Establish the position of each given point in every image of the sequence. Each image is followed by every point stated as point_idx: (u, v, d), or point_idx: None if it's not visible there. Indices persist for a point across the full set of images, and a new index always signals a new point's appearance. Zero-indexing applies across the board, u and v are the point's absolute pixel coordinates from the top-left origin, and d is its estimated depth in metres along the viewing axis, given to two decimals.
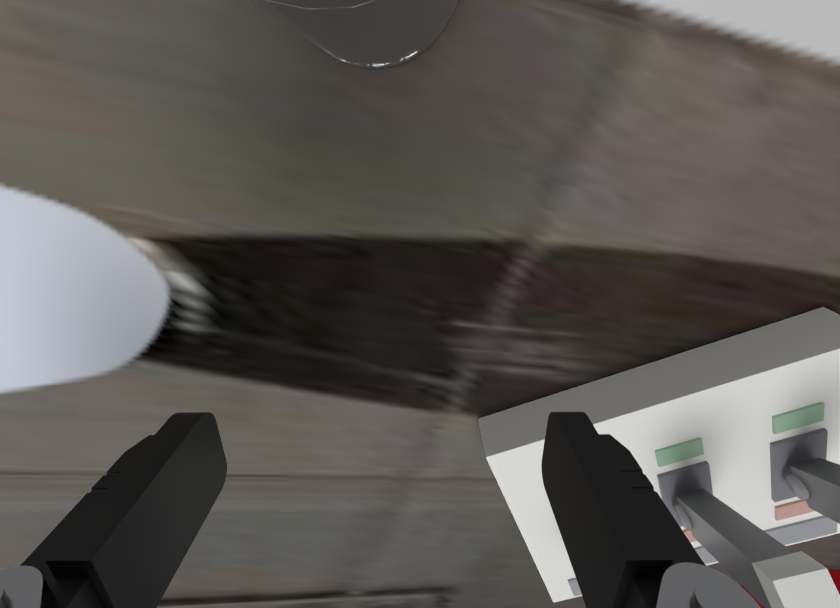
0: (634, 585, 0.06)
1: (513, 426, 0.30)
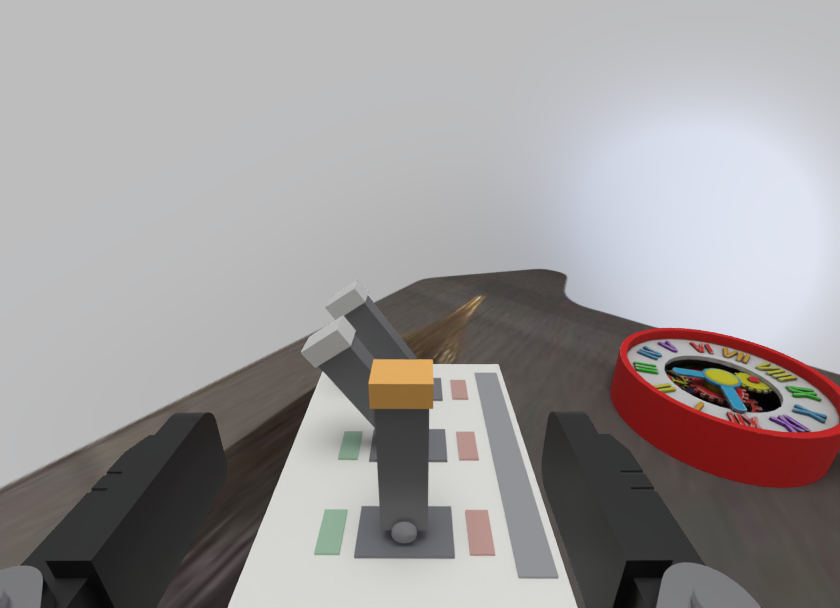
0: (634, 585, 0.06)
1: None
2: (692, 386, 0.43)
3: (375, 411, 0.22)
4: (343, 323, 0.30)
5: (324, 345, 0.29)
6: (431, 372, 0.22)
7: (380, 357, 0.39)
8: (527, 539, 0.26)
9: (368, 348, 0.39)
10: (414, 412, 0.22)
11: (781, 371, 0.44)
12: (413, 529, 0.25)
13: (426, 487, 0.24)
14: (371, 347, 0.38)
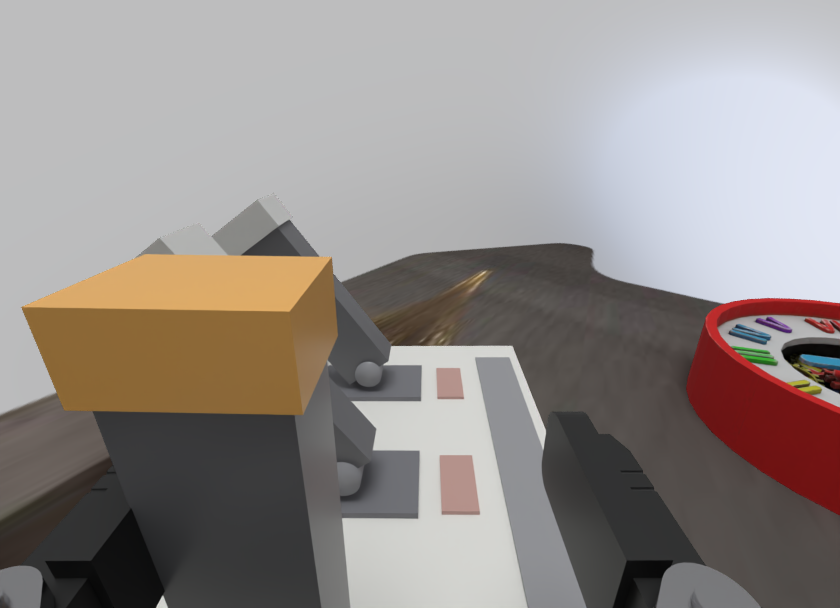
0: (633, 585, 0.06)
1: None
2: (837, 385, 0.26)
3: (101, 420, 0.06)
4: (191, 235, 0.14)
5: None
6: (306, 282, 0.06)
7: None
8: None
9: None
10: (242, 427, 0.06)
11: None
12: None
13: None
14: None
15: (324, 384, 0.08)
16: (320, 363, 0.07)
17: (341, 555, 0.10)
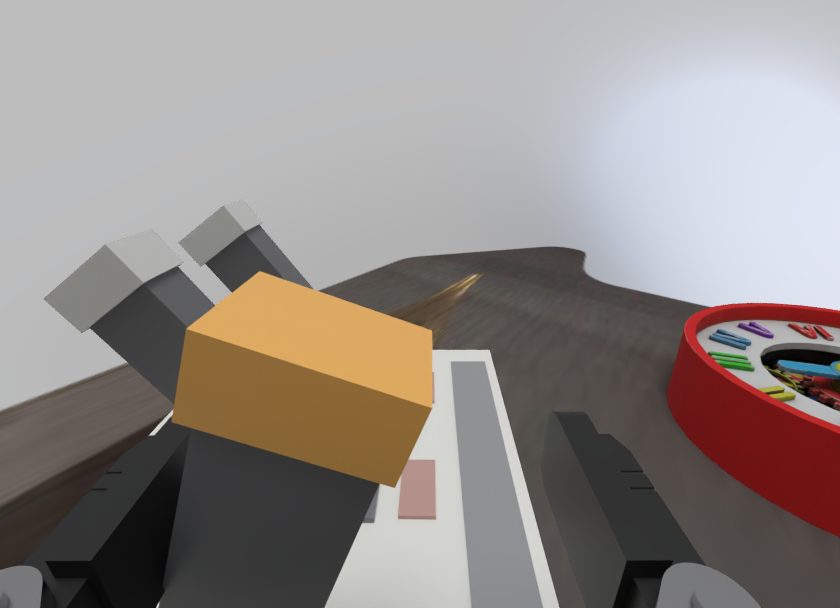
0: (634, 585, 0.06)
1: None
2: (815, 391, 0.26)
3: (194, 435, 0.06)
4: (142, 241, 0.14)
5: (87, 283, 0.14)
6: (427, 365, 0.07)
7: None
8: None
9: None
10: (327, 478, 0.06)
11: None
12: None
13: None
14: None
15: None
16: None
17: None
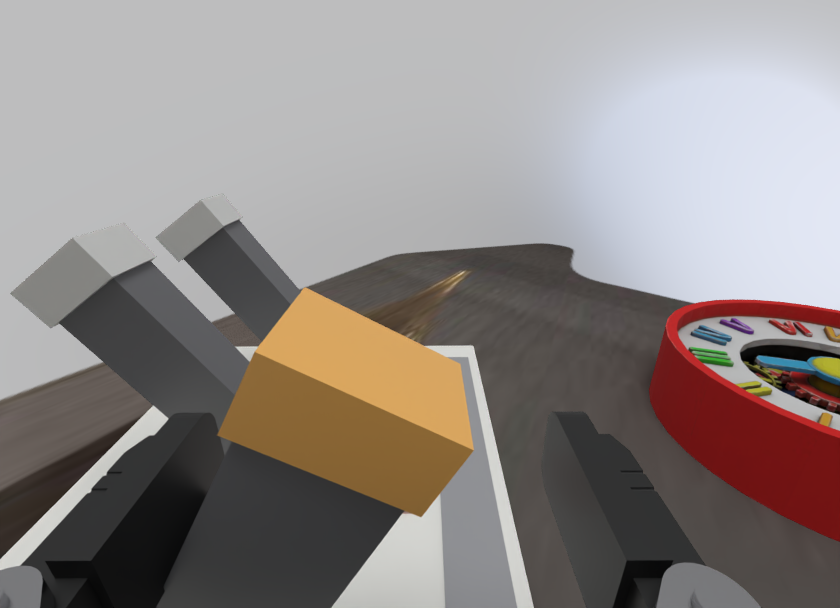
0: (633, 585, 0.06)
1: None
2: (792, 386, 0.26)
3: (233, 448, 0.06)
4: (112, 235, 0.14)
5: (55, 277, 0.13)
6: (462, 402, 0.07)
7: (265, 327, 0.23)
8: None
9: (243, 312, 0.23)
10: (355, 500, 0.07)
11: None
12: None
13: None
14: (248, 310, 0.23)
15: None
16: None
17: None
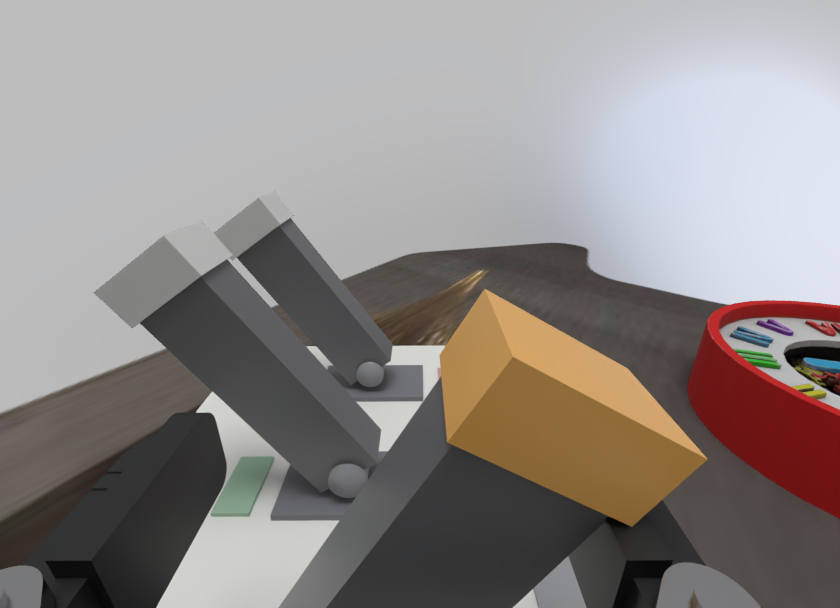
0: (633, 585, 0.06)
1: None
2: None
3: (449, 455, 0.06)
4: (194, 233, 0.14)
5: (141, 276, 0.13)
6: (661, 408, 0.07)
7: (316, 327, 0.23)
8: None
9: (294, 311, 0.23)
10: (560, 509, 0.06)
11: None
12: None
13: None
14: (300, 309, 0.22)
15: None
16: None
17: None
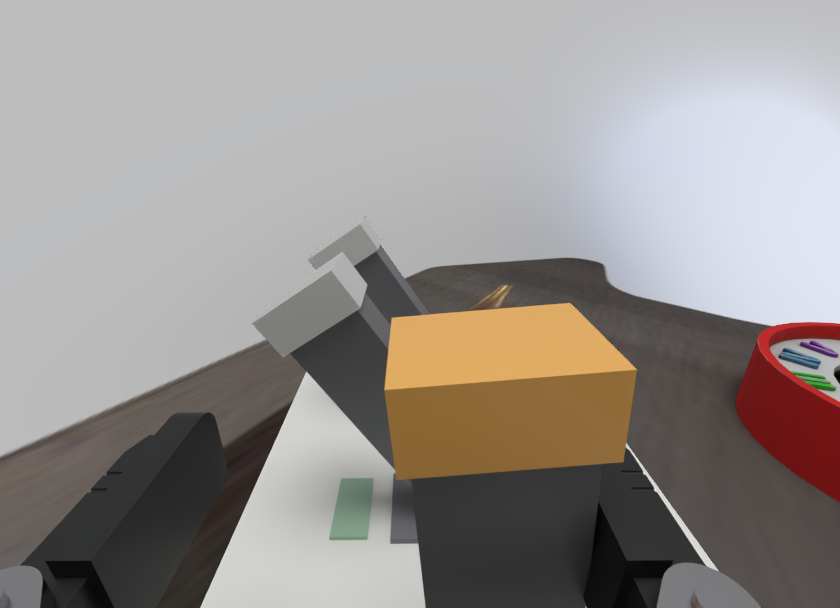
0: (633, 585, 0.06)
1: None
2: None
3: (415, 485, 0.06)
4: (343, 265, 0.14)
5: (302, 308, 0.13)
6: (595, 334, 0.06)
7: None
8: None
9: None
10: (550, 478, 0.06)
11: None
12: None
13: None
14: None
15: None
16: None
17: None
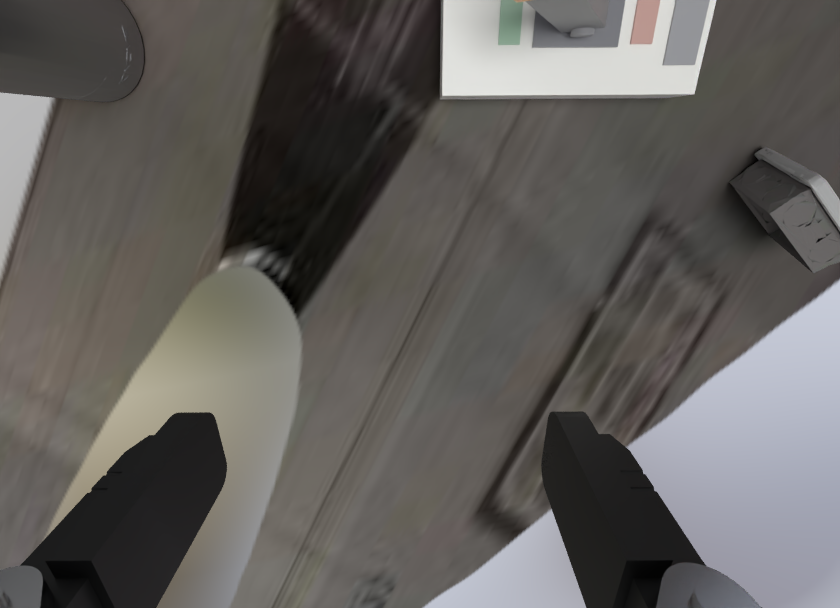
0: (634, 584, 0.06)
1: (441, 62, 0.33)
2: None
3: None
4: None
5: None
6: None
7: None
8: (686, 27, 0.30)
9: None
10: None
11: None
12: (589, 32, 0.28)
13: (595, 15, 0.25)
14: None
15: None
16: None
17: None
